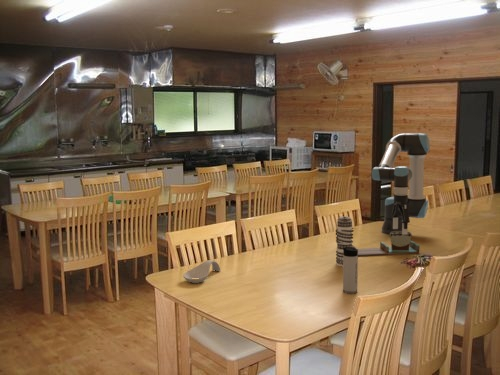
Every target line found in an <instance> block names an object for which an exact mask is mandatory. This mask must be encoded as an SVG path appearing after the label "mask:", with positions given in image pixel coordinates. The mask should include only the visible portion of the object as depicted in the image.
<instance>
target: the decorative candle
mask: <svg viewBox="0 0 500 375" xmlns="http://www.w3.org/2000/svg"><path fill="white" fill-rule="evenodd" d="M353 221H354V220H353V219H352V218H351V217H350V216H347V215H346V216H339V217H338V219H336V223H337V224H336V229H335V242H336V251H335V253H336V254H335V256H336V257H335V259H336V260H335V262H336V263H335V264H336V266H338V267H342V268H343V247H352V245H353V244H354V240H353V239H354V232H355V230H354V227H353Z"/></svg>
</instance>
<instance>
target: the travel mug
mask: <svg viewBox="0 0 500 375" xmlns="http://www.w3.org/2000/svg"><path fill="white" fill-rule="evenodd" d="M356 248H357V247H356ZM356 248H352V247H343V267H342V292H343V293H344V294H348V293H349V294H348V295H354V294H357V293H358V277H359V274H358V270H359V268H358V264H359V256H358V250H357V249H358V248H357V249H356ZM353 293H354V294H353Z"/></svg>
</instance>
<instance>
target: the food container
mask: <svg viewBox="0 0 500 375" xmlns="http://www.w3.org/2000/svg"><path fill="white" fill-rule="evenodd" d="M389 237H390V245H391V246H390V247H392V251H409V247H410V240H411V238H412V237H413V234H412V233H411V232H410V231H407V235H402V231H392V232H390V234H389Z"/></svg>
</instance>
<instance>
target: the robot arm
mask: <svg viewBox="0 0 500 375" xmlns="http://www.w3.org/2000/svg"><path fill="white" fill-rule="evenodd" d="M430 146H431V144H430V139H429V135H428V134H426V133H421V132H419V133H418V132H417V133H414V132H411V133H409V132H407V133H399V134H397V135H395V136H393V137H391V138H390V139H389V140H388V141H387V143H386V145H385V151H384V154H383V156H382V158H381V161H380V163H379V165H378V166H375V167H373V168H372V170H371V179H372V180H374V181H385V182H386V181H387V182H389V181H390V182H393V189H392V190H393V196H390V197H387V198H385V201H384V221H383V223H382V226H381V232H382V233H384V234H388V235H390V232H392V231H402V235H407V232H409V231H408V229H409V228H408V227H409V226H408V224H409V223H411V222H410V218H415V219H424V218H425V217H426V215H427V211H428V209H429V208H428V207H429V200H428V199H426V195H424V178H425V177H424V176H425V175H424V172H425V157H426V156H427V154H428V153H429V152H430ZM402 152H403V153H405V152H406V154H407V156H408V157H409V167H408V166H405V165H403V166H399V165H398V166H395V167H394V164H395V162H396V159H397V156H398V155H399V154H401V153H402Z"/></svg>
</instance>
